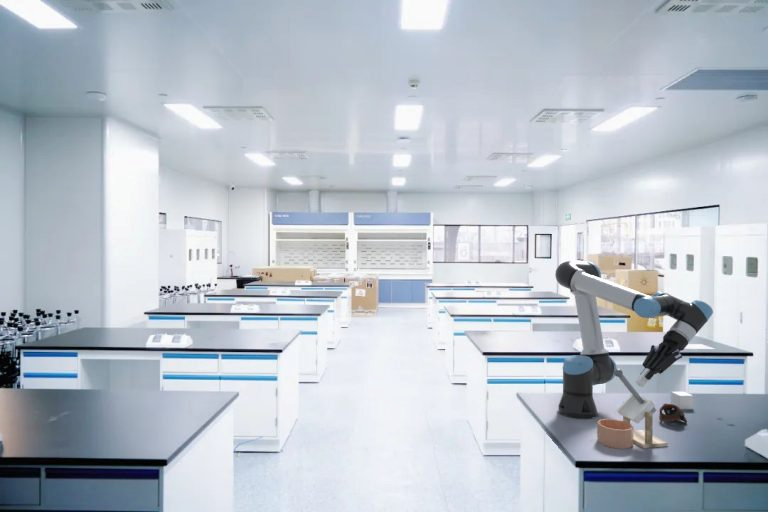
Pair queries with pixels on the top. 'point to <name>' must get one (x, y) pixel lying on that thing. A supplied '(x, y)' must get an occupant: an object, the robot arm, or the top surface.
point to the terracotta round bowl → (615, 433)
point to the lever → (634, 402)
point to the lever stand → (646, 434)
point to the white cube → (682, 400)
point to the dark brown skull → (671, 413)
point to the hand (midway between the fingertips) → (638, 384)
